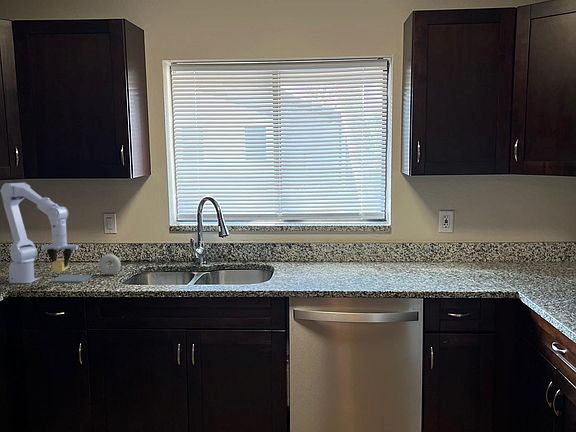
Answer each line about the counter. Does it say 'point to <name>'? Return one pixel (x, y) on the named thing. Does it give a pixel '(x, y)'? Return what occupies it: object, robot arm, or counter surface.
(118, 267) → the donut
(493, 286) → the counter surface
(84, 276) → the mat
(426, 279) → the counter surface
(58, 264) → the yellow rectangular block
